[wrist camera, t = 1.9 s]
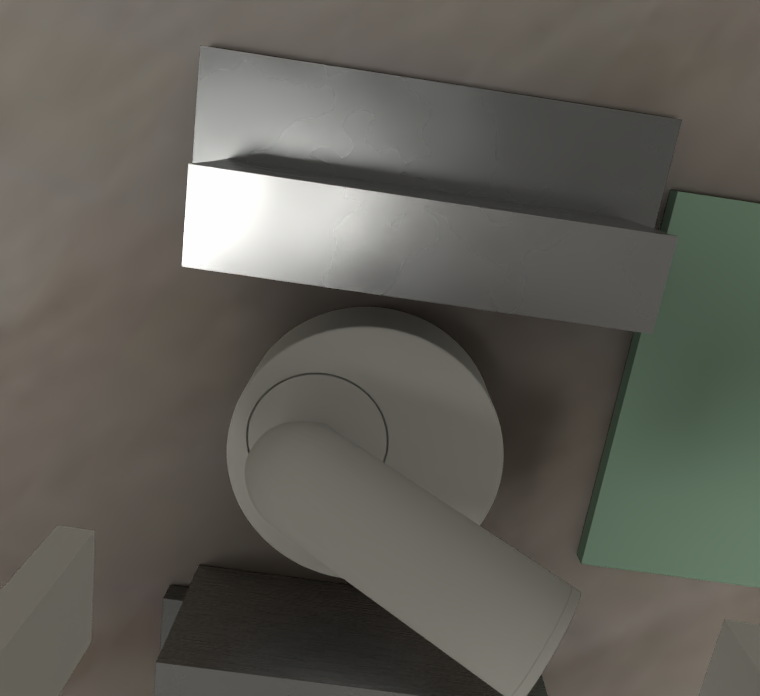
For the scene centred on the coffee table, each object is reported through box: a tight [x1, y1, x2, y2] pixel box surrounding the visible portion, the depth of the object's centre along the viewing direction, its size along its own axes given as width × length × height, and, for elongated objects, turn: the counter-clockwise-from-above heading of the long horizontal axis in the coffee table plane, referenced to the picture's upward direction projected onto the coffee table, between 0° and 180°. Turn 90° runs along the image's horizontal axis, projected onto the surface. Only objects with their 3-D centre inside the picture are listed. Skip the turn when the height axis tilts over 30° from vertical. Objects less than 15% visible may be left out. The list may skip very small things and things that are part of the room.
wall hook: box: [226, 307, 581, 696], centre depth 20 cm, size 9×10×10 cm
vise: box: [154, 46, 682, 696], centre depth 22 cm, size 14×23×5 cm, turn 172°
